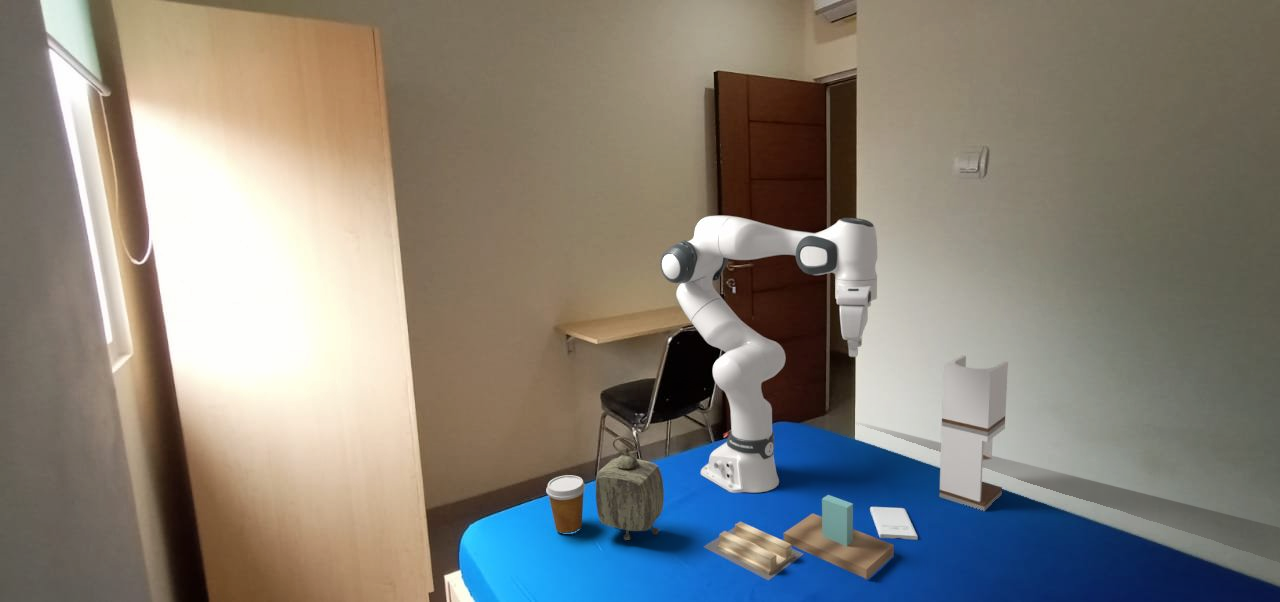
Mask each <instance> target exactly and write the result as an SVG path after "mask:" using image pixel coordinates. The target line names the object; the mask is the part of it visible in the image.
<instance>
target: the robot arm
mask: <svg viewBox="0 0 1280 602" xmlns="http://www.w3.org/2000/svg"><path fill="white" fill-rule="evenodd" d="M877 238H878V237H877V231H876V227H875V225H874V224H873V222H871V221H869V220H868V219H867V220H866V219H864V218H857V217H843V218H840V219H838V220H837V221H836V223H834V224H833V225H831V226H829V227H828V228H826V229H824V230H821V231H818V232H809V231H801V230H795V229H786V228H782V227H779V226H774V225H771V224H766V223H764V222H763V223H762V222H759V221H756V220H752V219H749V218H744V217H739V216H732V215H708V216H705V217H703V218H701V219H700V220H699V221H698V222H697V224H696V226H695V228H694V234H693V237H692V239H690V240H681V241H680V242H677V243H676V244H674V245H672V246H670V247H668V248H667V249H666V250H665V251H664V252H663V253H662V255H661V257H660V270H661V273H662V276H664V279H666V280H667V281H668V282H670V283H673V284H679V285H678V287H677V289H676V291H675V292H676V293H675V294H676V296H675V297H676V299H677V301H678V304H679V306H680V307H681V309H682V311H683V312H684V315H685V316H686V317H687V319H688V320H689V321H690V323H691V324H692V325H693V326H694V327H695V329H696V331H697V332H698V333H699V335H700V336H701V337H702V338H703V340H704V341H705V342H706V343H707V344H708V345H710V346H712V347H714V348H716V349H717V348H718V349H719V350H721V351H723V352H724V353H723V354H722V355H721V356H720V357H718V358H717V359H716V360H715V362H714V363H713V365H712V369H711V370H712V377H713V380H714V383H715V384H716V385H717V387H718V388H720V389H721V390H722V391H723V392H724V393H725V395H726V398H727V400H728V403H729V404H728V405H729V409H730V425H731V426H730V427H731V429H729V431H727V432H725V433H723V438H724V439H725V438H727V439H726V442H724V443H722V444H721V445H720V446H718V447H717V448H715V449H713V451H712V452H711V453H710V455H709V459H708V463H706V464H705V465H704V466H703V467H702V468H701V469H700V475H701V476H702V477H704V478H706V479H708V480H709V481H710V482H712V483H714V484H716V485H717V486H719V487H721V488H723V489H724V490H726V491H727V492H729V493H734V494H735V493H737V494H738V493H756V494H757V493H763V492H769V491H772V490H774V489H776V488H777V486H779V483H780V479H779V476H778V473H777V469H776V468H777V467H776V461H775V458H774V456H775V455H774V451H775V434H774V431H773V408H772V404H771V403H770V402H769V401H768V400H767V399H765V398H764V394H763V392H762V383H764V382H766V381H767V380H769V379H771V378H774V377H775V376H776V375H777V374H778V373H779V372H780V371H781V370H783V368H784V366H785V363H786V358H787V357H786V352H785V349H783V347H782V345H781V344H780V343H778V342H777V341H774V340H772V339H769V338H767V337H764V336H763V335H761V334H760V333H759V332H757V331H756V330H754V329H753V328H752V327H750V326H748V324H746V323H745V322H744V321H742V320H741V318H740V317H738V315H737V314H736V313H735V312H734V310H732V308H731V307H730V306H729V305H728V303H726V300H724V298H723V297H722V296H721V295H720V294H719V292H717V290H716V289H715V287H714V284H713V282H714V281H717V280H719V279H720V277H721V275H722V272H723V271H724V270H725V268H726V266H727V265H728V263H729V260H734V261H735V260H736V261H750V260H758V259H762V258H768V257H774V256H781V255H782V256H783V255H787V256H788V255H790V256H794V257H795V260H796V264H797V266H798V267H799V269H801V270H802V272H803V273H804V274H807V275H812V276H821V275H825V274H831V273H832V274H834V277H835V279H834V280H835V282H834V285H835V287H834V288H835V290H834V291H835V292H834V293H835V295H834V296H835V297H834V298H835V299H836V304H837V305H839V321H840V331H841V336H842V339H843V340H845V341H847V347H848V356H849V357H850V358H856V357H858V354H859V347H862V344H863V333H864V331H865V328H866V326H867V324H868V318H869V316H868V315H869V313H868V312H869V308H870V307H871V305H872V303H871V302H872V301H875V300H877V299H878V274H877V271H876V264H877V260H878V239H877Z"/></svg>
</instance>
